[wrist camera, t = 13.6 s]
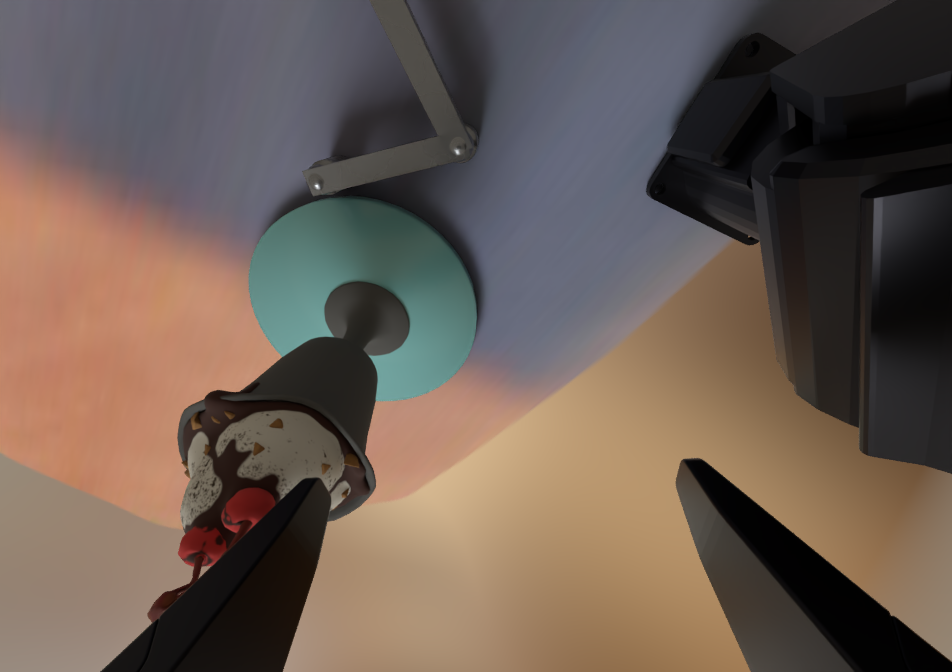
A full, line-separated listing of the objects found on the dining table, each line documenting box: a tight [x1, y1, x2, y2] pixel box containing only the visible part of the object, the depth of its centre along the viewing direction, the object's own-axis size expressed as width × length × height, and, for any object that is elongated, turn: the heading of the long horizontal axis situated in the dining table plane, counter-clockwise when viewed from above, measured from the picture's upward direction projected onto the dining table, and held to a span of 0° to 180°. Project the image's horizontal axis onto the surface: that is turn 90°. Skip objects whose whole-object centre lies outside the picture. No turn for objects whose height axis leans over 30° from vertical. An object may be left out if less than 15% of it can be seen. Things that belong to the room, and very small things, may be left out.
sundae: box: [148, 281, 410, 623], centre depth 14 cm, size 7×7×15 cm
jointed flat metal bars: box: [302, 0, 479, 196], centre depth 14 cm, size 7×10×3 cm
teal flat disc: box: [249, 196, 477, 401], centre depth 21 cm, size 13×13×1 cm
